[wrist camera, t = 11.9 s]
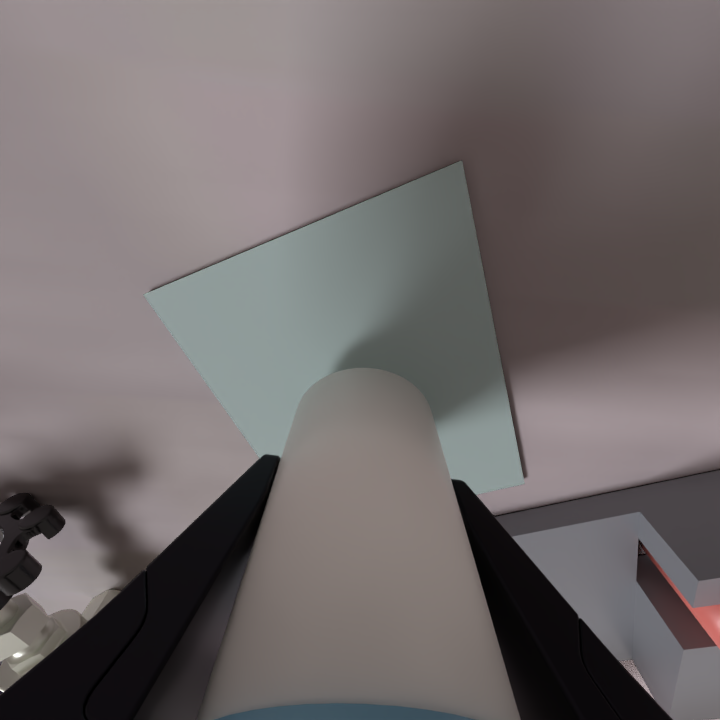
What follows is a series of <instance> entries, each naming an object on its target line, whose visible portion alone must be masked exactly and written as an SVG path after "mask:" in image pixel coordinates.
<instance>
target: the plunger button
mask: <svg viewBox="0 0 720 720" xmlns="http://www.w3.org/2000/svg"><path fill="white" fill-rule="evenodd" d="M641 546H642V549H643V550H644V551H645V553H646V554H647V555H648V556H649V558H650V559H651V560H652V562H653V563H654V564H655V566H656V567H657V568H658V570H659V571H660V572H661V573H662V575H663V576H664V577H665V579H666V580H667V581H668V583H669V584H670V585H671V587H672V588H673V589H674V590H675V592H676V593H677V594H678V596H679V597H680V598H681V600H682V601H683V602H684V603H685V605H686V606H687V607H688V609H689V610H690V611H691V613H692V614H693V615H694V617H695V618H696V619H697V620H698V622H699V623H700V624H701V626H702V627H703V628H704V630H705V631H706V632H707V633H708V635H709V636H710V637H711V639H712V640H713V641H714V643H715V644H716V645H717V647H718V648H719V649H720V604H719V605H712V606H705V607H697V608H692V607H691V605H690V604H689V603H688V601H687V600H686V599H685V598H684V596H683V595H682V594H681V592H680V591H679V590H678V589H677V587H676V586H675V585H674V583H673V582H672V581H671V580H670V578H669V577H668V576H667V574H666V573H665V572H664V571H663V569H662V568H661V567H660V565H659V564H658V563H657V562H656V560H655V559H654V558H653V556H652V555H651V554H650V553H649V551H648V550H647V549H646V547H645V546H644V545H643V544H642V543H641Z"/></svg>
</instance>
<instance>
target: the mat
mask: <svg viewBox="0 0 720 720" xmlns="http://www.w3.org/2000/svg"><path fill="white" fill-rule="evenodd" d="M144 297H145V298H146V299H147V301H148V302H149V304H150V305H151V306H152V308H153V309H154V311H155V312H156V313H157V315H158V316H159V318H160V319H161V320H162V322H163V323H164V325H165V326H166V327H167V329H168V330H169V332H170V333H171V334H172V336H173V337H174V339H175V340H176V342H177V343H178V344H179V346H180V347H181V349H182V350H183V351H184V353H185V354H186V356H187V357H188V358H189V360H190V361H191V363H192V364H193V365H194V367H195V368H196V370H197V371H198V372H199V374H200V375H201V377H202V378H203V379H204V381H205V382H206V384H207V385H208V386H209V388H210V389H211V391H212V392H213V394H214V395H215V396H216V398H217V399H218V401H219V402H220V403H221V405H222V406H223V408H224V409H225V410H226V412H227V413H228V415H229V416H230V417H231V419H232V420H233V422H234V423H235V424H236V426H237V427H238V429H239V430H240V431H241V433H242V434H243V436H244V437H245V438H246V440H247V441H248V443H249V444H250V446H251V447H252V448H253V450H254V451H255V453H256V454H257V455H258V457H259V458H261V457H262V456H263V455H265V454H270V455H278V456H279V457H280V459H281V456H282V453H283V450H284V447H285V444H286V441H287V438H288V435H289V432H290V428H291V425H292V422H293V419H294V416H295V413H296V410H297V407H298V404H299V402H300V400H301V399H302V397H303V395H304V394H305V393H306V392H307V390H308V389H309V388H310V387H311V386H312V385H313V384H315V383H316V382H318V381H319V380H320V379H322V378H324V377H326V376H328V375H330V374H333V373H335V372H338V371H342V370H346V369H352V368H374V369H380V370H385V371H388V372H391V373H394V374H397V375H399V376H401V377H403V378H405V379H406V380H408V381H409V382H411V383H412V384H413V385H414V386H415V387H417V388H418V389H419V390H420V392H421V393H422V394H423V395H424V397H425V398H426V400H427V402H428V404H429V406H430V409H431V412H432V415H433V419H434V422H435V426H436V429H437V432H438V436H439V439H440V443H441V446H442V450H443V453H444V457H445V460H446V464H447V467H448V470H449V474H450V477H451V479H457V480H462V481H464V482H465V483H466V484H467V485H468V486H469V487H470V489H471V490H472V491H473V492H474V493H475V494H476V495H477V494H482V493H486V492H491V491H495V490H499V489H504V488H508V487H513V486H517V485H522V484H525V483H524V478H523V473H522V468H521V463H520V457H519V452H518V447H517V442H516V437H515V432H514V426H513V421H512V416H511V411H510V406H509V400H508V395H507V390H506V385H505V380H504V375H503V369H502V364H501V359H500V354H499V349H498V344H497V338H496V333H495V328H494V323H493V318H492V312H491V307H490V302H489V297H488V292H487V287H486V281H485V276H484V271H483V266H482V261H481V255H480V250H479V245H478V240H477V235H476V230H475V224H474V219H473V214H472V209H471V204H470V199H469V193H468V188H467V183H466V178H465V173H464V167H463V162H462V161H459V162H457V163H454V164H452V165H449V166H447V167H445V168H442V169H440V170H438V171H435V172H433V173H430V174H428V175H426V176H423V177H421V178H419V179H416V180H414V181H411V182H409V183H407V184H404V185H402V186H400V187H397V188H395V189H392V190H390V191H388V192H385V193H383V194H381V195H378V196H376V197H373V198H371V199H369V200H366V201H364V202H362V203H359V204H357V205H354V206H352V207H350V208H347V209H345V210H343V211H340V212H338V213H335V214H333V215H331V216H328V217H326V218H324V219H321V220H319V221H316V222H314V223H312V224H309V225H307V226H305V227H302V228H300V229H297V230H295V231H293V232H290V233H288V234H286V235H283V236H281V237H278V238H276V239H274V240H271V241H269V242H267V243H264V244H262V245H259V246H257V247H255V248H252V249H250V250H248V251H245V252H243V253H240V254H238V255H236V256H233V257H231V258H229V259H226V260H224V261H221V262H219V263H217V264H214V265H212V266H210V267H207V268H205V269H202V270H200V271H198V272H195V273H193V274H191V275H188V276H186V277H184V278H181V279H179V280H176V281H174V282H172V283H169V284H167V285H165V286H162V287H160V288H157V289H155V290H153V291H150V292H148V293H146V294H144Z"/></svg>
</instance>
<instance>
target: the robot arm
mask: <svg viewBox="0 0 720 720" xmlns="http://www.w3.org/2000/svg"><path fill="white" fill-rule="evenodd" d="M279 462H280V457H279V456H278V455H270V454H265V455H263V456H262V457H261V458H260V459H259V460H258V461H256V462H255V463H254V464H253V465H252V466H251V467H250V468H249V469H248V470H247V471H246V472H245V473H244V474H243V475H242V476H241V477H240V478H239V479H238V480H237V481H236V482H235V483H234V484H232V485H231V486H230V487H229V488H228V489H227V490H226V491H225V492H224V493H223V494H222V495H221V496H220V497H219V498H218V499H217V500H216V501H215V502H214V503H213V504H212V505H211V506H210V507H209V508H207V509H206V510H205V511H204V512H203V513H202V514H201V515H200V516H199V517H198V518H197V519H196V520H195V521H194V522H193V523H192V524H191V525H190V526H189V527H188V528H187V529H186V530H185V531H184V532H182V533H181V534H180V535H179V536H178V537H177V538H176V539H175V540H174V541H173V542H172V543H171V544H170V545H169V546H168V547H167V548H166V549H165V550H164V551H163V552H162V553H161V554H160V555H158V556H157V557H156V558H155V559H154V560H153V561H152V562H151V563H150V564H149V565H148V566H147V568H146V570H143V571H142V572H140V573H139V574H138V575H137V576H136V577H135V578H134V579H133V580H132V581H131V582H130V583H129V584H128V585H127V586H126V587H125V588H124V589H123V590H122V591H121V592H120V593H118V594H117V595H116V596H115V597H114V598H113V599H112V600H111V601H110V602H109V603H108V604H107V605H105V606H104V607H103V608H102V609H101V610H100V611H99V612H98V613H97V614H96V615H95V616H93V617H92V618H91V619H90V620H89V621H88V622H86V623H85V624H84V625H83V626H82V627H81V628H79V629H78V630H77V631H76V632H75V633H74V634H72V635H71V636H70V637H69V638H68V639H66V640H65V641H64V642H63V643H62V644H61V645H59V646H58V647H57V648H56V649H55V650H53V651H52V652H51V653H50V654H49V655H47V656H46V657H45V658H44V659H43V660H41V661H40V662H39V663H38V664H37V665H35V666H34V667H33V668H32V669H31V670H29V671H28V672H27V673H26V674H25V675H23V676H22V677H21V678H20V679H19V680H17V681H16V682H15V683H14V684H13V685H11V686H10V687H9V688H8V689H6V690H5V691H4V692H3V693H2V694H0V720H196V719H197V715H198V712H199V709H200V706H201V703H202V700H203V697H204V694H205V691H206V688H207V685H208V682H209V678H210V675H211V672H212V669H213V666H214V663H215V660H216V657H217V654H218V651H219V648H220V644H221V641H222V638H223V635H224V632H225V629H226V626H227V623H228V620H229V617H230V614H231V611H232V607H233V604H234V601H235V598H236V595H237V592H238V589H239V586H240V583H241V580H242V577H243V573H244V570H245V567H246V564H247V561H248V558H249V555H250V552H251V549H252V546H253V543H254V540H255V536H256V533H257V530H258V527H259V524H260V521H261V518H262V515H263V512H264V509H265V506H266V503H267V499H268V496H269V493H270V490H271V487H272V484H273V481H274V478H275V475H276V472H277V469H278V465H279ZM451 481H452V484H453V488H454V491H455V495H456V498H457V502H458V505H459V508H460V512H461V515H462V519H463V522H464V526H465V529H466V533H467V536H468V540H469V543H470V546H471V550H472V553H473V557H474V560H475V564H476V567H477V571H478V574H479V578H480V581H481V585H482V588H483V591H484V595H485V598H486V602H487V605H488V609H489V612H490V616H491V619H492V623H493V626H494V629H495V633H496V636H497V640H498V643H499V647H500V650H501V654H502V657H503V661H504V664H505V667H506V671H507V674H508V678H509V681H510V685H511V688H512V692H513V695H514V699H515V702H516V705H517V709H518V712H519V716H520V719H521V720H673V719H672V718H671V717H670V716H669V715H668V714H667V713H666V712H665V711H664V710H663V708H662V707H661V706H660V705H659V704H658V703H657V702H656V701H655V700H654V699H653V698H652V697H651V696H650V695H649V694H648V692H647V691H646V690H645V689H644V688H643V687H642V686H641V685H640V684H639V683H638V682H637V681H636V680H635V678H634V677H633V676H632V675H631V674H630V673H629V672H628V671H627V670H626V669H625V668H624V667H623V665H622V664H621V663H620V662H619V661H618V660H617V659H616V657H615V656H614V655H613V654H612V653H611V652H610V651H609V649H608V648H607V647H606V646H605V645H604V644H603V643H602V642H601V640H600V639H599V638H598V637H597V636H596V635H595V633H594V632H593V631H592V630H591V629H590V628H589V626H588V625H587V624H586V623H585V622H584V621H583V619H581V618H579V616H578V614H577V613H576V611H575V610H574V609H573V608H572V607H571V606H570V604H569V603H568V602H567V601H566V600H565V599H564V597H563V596H562V595H561V594H560V593H559V592H558V590H557V589H556V588H555V587H554V586H553V584H552V583H551V582H550V581H549V580H548V579H547V577H546V576H545V575H544V574H543V573H542V572H541V570H540V569H539V568H538V567H537V566H536V565H535V563H534V562H533V561H532V560H531V559H530V558H529V556H528V555H527V554H526V553H525V552H524V551H523V549H522V548H521V547H520V546H519V545H518V544H517V542H516V541H515V540H514V539H513V538H512V536H511V535H510V534H509V533H508V532H507V531H506V529H505V528H504V527H503V526H502V525H501V524H500V522H499V521H498V520H497V519H496V518H495V517H494V515H493V514H492V513H491V512H490V511H489V510H488V508H487V507H486V506H485V505H484V504H483V503H482V501H481V500H480V499H479V498H478V497H477V496H476V494H475V493H474V492H473V491H472V490H471V489H470V487H469V486H468V485H467V484H466V483H465V482H464V481H462V480H457V479H451Z"/></svg>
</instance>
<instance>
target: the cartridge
mask: <svg viewBox="0 0 720 720" xmlns="http://www.w3.org/2000/svg"><path fill="white" fill-rule="evenodd" d="M196 720H521V719H520V716H519V712H518V709H517V705H516V702H515V699H514V695H513V692H512V688H511V685H510V681H509V678H508V674H507V671H506V667H505V664H504V661H503V657H502V654H501V650H500V647H499V643H498V640H497V636H496V633H495V629H494V626H493V623H492V619H491V616H490V612H489V609H488V605H487V602H486V598H485V595H484V591H483V588H482V585H481V581H480V578H479V574H478V571H477V567H476V564H475V560H474V557H473V553H472V550H471V546H470V543H469V540H468V536H467V533H466V529H465V526H464V522H463V519H462V515H461V512H460V508H459V505H458V502H457V498H456V495H455V491H454V488H453V484H452V481H451V477H450V474H449V470H448V467H447V464H446V460H445V457H444V453H443V450H442V446H441V443H440V439H439V436H438V432H437V429H436V426H435V422H434V419H433V415H432V412H431V409H430V406H429V404H428V402H427V400H426V398H425V397H424V395H423V394H422V393H421V392H420V390H419V389H418V388H417V387H415V386H414V385H413V384H412V383H411V382H409V381H408V380H406V379H405V378H403V377H401V376H399V375H397V374H394V373H391V372H388V371H385V370H380V369H374V368H352V369H346V370H342V371H338V372H335V373H333V374H330V375H328V376H326V377H324V378H322V379H320V380H319V381H318V382H316V383H315V384H313V385H312V386H311V387H310V388H309V389H308V390H307V392H306V393H305V394H304V395H303V397H302V399H301V400H300V402H299V404H298V407H297V410H296V413H295V416H294V419H293V422H292V425H291V428H290V432H289V435H288V438H287V441H286V444H285V447H284V450H283V453H282V456H281V459H280V462H279V465H278V469H277V472H276V475H275V478H274V481H273V484H272V487H271V490H270V493H269V496H268V499H267V503H266V506H265V509H264V512H263V515H262V518H261V521H260V524H259V527H258V530H257V533H256V536H255V540H254V543H253V546H252V549H251V552H250V555H249V558H248V561H247V564H246V567H245V570H244V573H243V577H242V580H241V583H240V586H239V589H238V592H237V595H236V598H235V601H234V604H233V607H232V611H231V614H230V617H229V620H228V623H227V626H226V629H225V632H224V635H223V638H222V641H221V644H220V648H219V651H218V654H217V657H216V660H215V663H214V666H213V669H212V672H211V675H210V678H209V682H208V685H207V688H206V691H205V694H204V697H203V700H202V703H201V706H200V709H199V712H198V715H197V719H196Z"/></svg>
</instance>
